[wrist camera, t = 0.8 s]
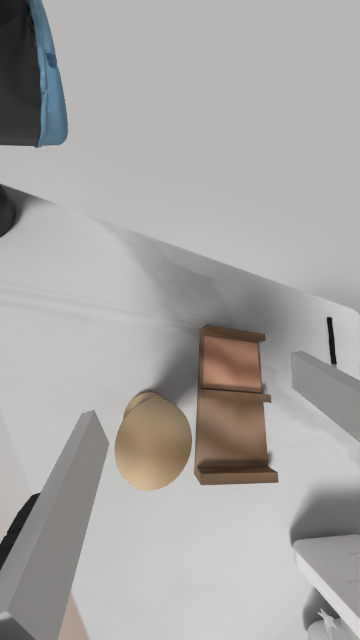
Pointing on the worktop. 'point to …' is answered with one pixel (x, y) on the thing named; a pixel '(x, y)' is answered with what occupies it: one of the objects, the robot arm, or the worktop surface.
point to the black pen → (331, 342)
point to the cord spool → (152, 442)
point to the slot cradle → (231, 410)
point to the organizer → (333, 583)
